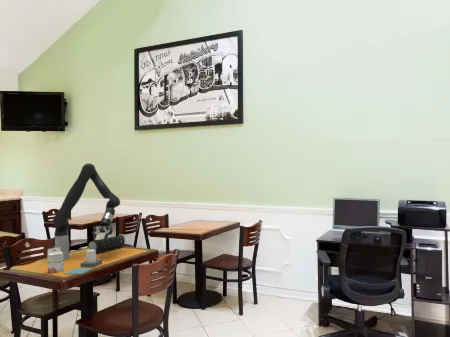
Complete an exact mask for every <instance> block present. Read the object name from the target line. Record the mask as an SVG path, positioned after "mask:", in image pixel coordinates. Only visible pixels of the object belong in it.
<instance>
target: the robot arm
mask: <svg viewBox="0 0 450 337" xmlns="http://www.w3.org/2000/svg"><path fill="white" fill-rule="evenodd" d="M89 180H91V181H92V183H93V184H94V186H95V187H96V189H97V191H98V192H99V193H100V195H101V197H102V198H103V199H105V200H106V199H107V201H106V205H105V211H104V214H103V215H102V217H101V220H100V222H99V226H96V225H95V226H94V227H93V228H92V229H93V230H92V232H91V234H92V235H93V236H92V239H93V240H97V239H96V238H97V236H98V235H100V234H102V233H104V237H103V239H105V240H106V239H107V238H109V235H110V236H111V235H112V234H113V231H114V227H113V226H112V222H113V220H114V216H115V214H116V210H115V208H117V207H119V206H120V205H121V200H120V198H119V197H118V196H117V195H116V194H114V193H113V192H112V191H111V189H110V188H109V187H108V186H107V184H106V183H105V182H104V180H103V179H102V178H101V176H100V175H99V173H98V171H97V170H96V167H95V165H94V164H92V163H85V164H84V165H83V166H82V167H81V171H80V172H79V175H78V177H77V179H76V180H75V182H74V183H73V184H72V185H71V187H70V189H69V190H68V192H67V193H66V196H65V198H64V200H63V202H62V204H61V206H60V208H59V210H57V212H56V214H55V215H53V216H54V217H53V218H52V223H53V225H54V226H55V230H54V246H53V248H59V247H61V252H63V260H68V259H70V245H69V244H70V243H69V241H70V240H69V229H70V228H69V227H70V226H69V215H70V213H71V211H72V210H73V209H74V207H75V206H76V205H77V203H78V202H79V201H80V199H81V197H82V195H83V193H84V191H85V188H86V186H87V183H88V182H89ZM53 251H56V250H55V249H54V250H53Z"/></svg>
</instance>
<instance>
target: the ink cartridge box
mask: <svg viewBox="0 0 450 337" xmlns="http://www.w3.org/2000/svg"><path fill="white" fill-rule="evenodd" d="M54 249H55V250H56V251H54ZM46 255H47V257H46V258H47V272H48V273H49V274H53V273H59V272H64V269H65V267H64V259H63V252H61V247H59V248H54V247H53V248H48V249H47V254H46Z"/></svg>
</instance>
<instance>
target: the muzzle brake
mask: <svg viewBox="0 0 450 337" xmlns="http://www.w3.org/2000/svg"><path fill="white" fill-rule="evenodd" d="M125 241H126V240H125V237H124V236H123V235H121V234H119V235H115V236H110V237H109V236H108V238H107V239H106V240H105V239H104V238H100V239H95V240H94V239H93V240H91V241H90V242H89V243H88V250H96V253H103V252H104V251H111V250H115V249H119V248H122V247H123V246H124V245H125Z"/></svg>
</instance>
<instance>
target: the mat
mask: <svg viewBox="0 0 450 337" xmlns="http://www.w3.org/2000/svg"><path fill="white" fill-rule="evenodd" d="M91 270H93V267H75V268H73V269H71V270H69V271H66V272H64V274H63V275H84V274H85V273H88V272H89V271H91Z"/></svg>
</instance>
